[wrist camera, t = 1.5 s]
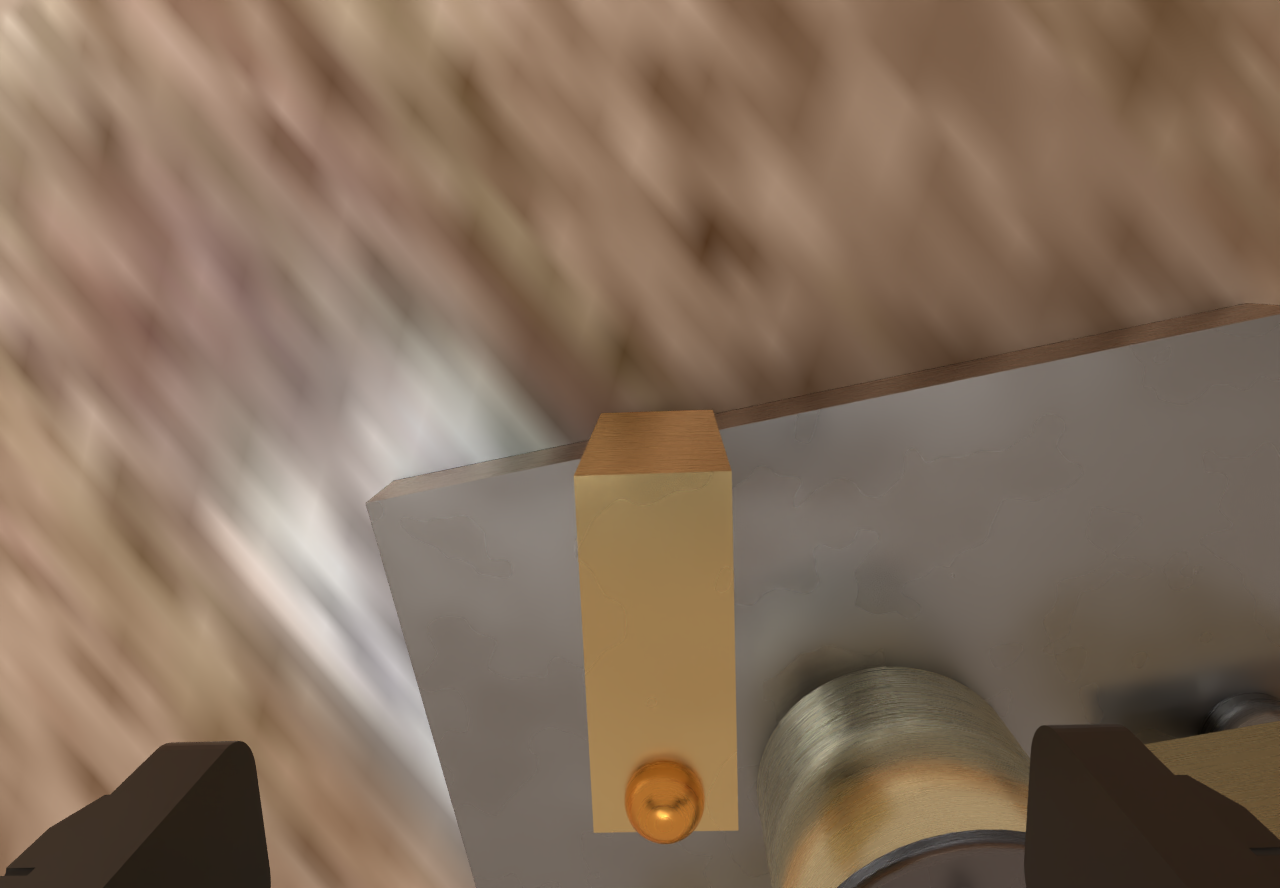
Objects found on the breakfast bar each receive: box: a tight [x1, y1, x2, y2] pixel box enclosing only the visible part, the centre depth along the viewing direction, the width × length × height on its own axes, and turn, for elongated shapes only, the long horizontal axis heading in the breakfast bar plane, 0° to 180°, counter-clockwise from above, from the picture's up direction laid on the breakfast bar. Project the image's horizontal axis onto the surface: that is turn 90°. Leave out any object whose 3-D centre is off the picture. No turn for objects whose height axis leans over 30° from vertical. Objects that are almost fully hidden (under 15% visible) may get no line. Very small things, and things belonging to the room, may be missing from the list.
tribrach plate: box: [366, 303, 1280, 888], centre depth 17 cm, size 20×18×9 cm
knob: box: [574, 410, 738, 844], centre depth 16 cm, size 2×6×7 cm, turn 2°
